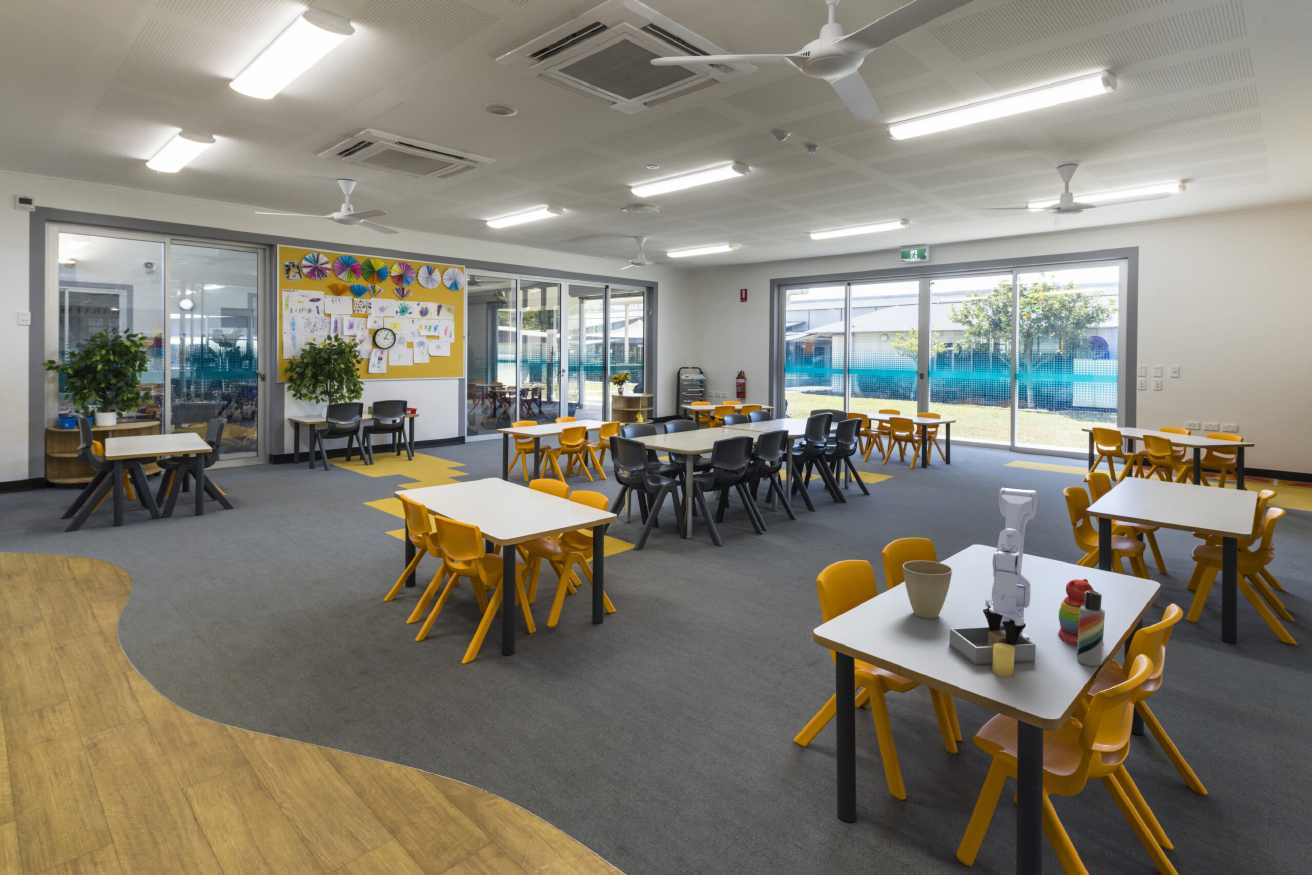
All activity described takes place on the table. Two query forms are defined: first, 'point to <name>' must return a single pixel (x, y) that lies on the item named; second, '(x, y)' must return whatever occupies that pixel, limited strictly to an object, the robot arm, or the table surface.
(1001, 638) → the wooden block
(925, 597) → the plant pot
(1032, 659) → the tray
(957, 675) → the table surface
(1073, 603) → the stacking bear
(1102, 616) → the lotion bottle
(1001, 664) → the mustard cylinder
